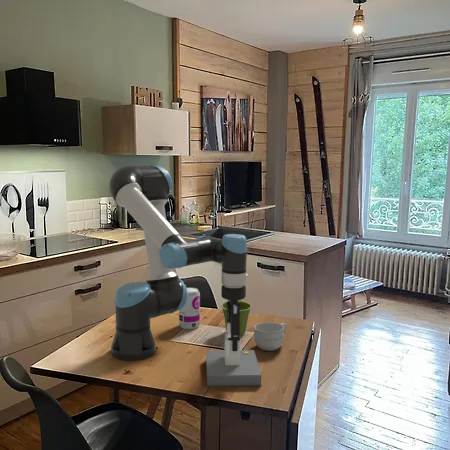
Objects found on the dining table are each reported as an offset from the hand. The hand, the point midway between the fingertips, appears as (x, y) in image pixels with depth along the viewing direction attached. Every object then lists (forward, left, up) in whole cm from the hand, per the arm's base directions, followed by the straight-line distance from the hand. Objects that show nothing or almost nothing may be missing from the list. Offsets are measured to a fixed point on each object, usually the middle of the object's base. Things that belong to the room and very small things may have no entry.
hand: (232, 350), depth 145 cm
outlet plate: (0, 0, -7) cm, 7 cm away
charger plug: (0, 0, -7) cm, 7 cm away
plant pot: (+4, +33, -7) cm, 34 cm away
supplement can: (-14, +41, -7) cm, 44 cm away
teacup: (+16, +20, -8) cm, 27 cm away
